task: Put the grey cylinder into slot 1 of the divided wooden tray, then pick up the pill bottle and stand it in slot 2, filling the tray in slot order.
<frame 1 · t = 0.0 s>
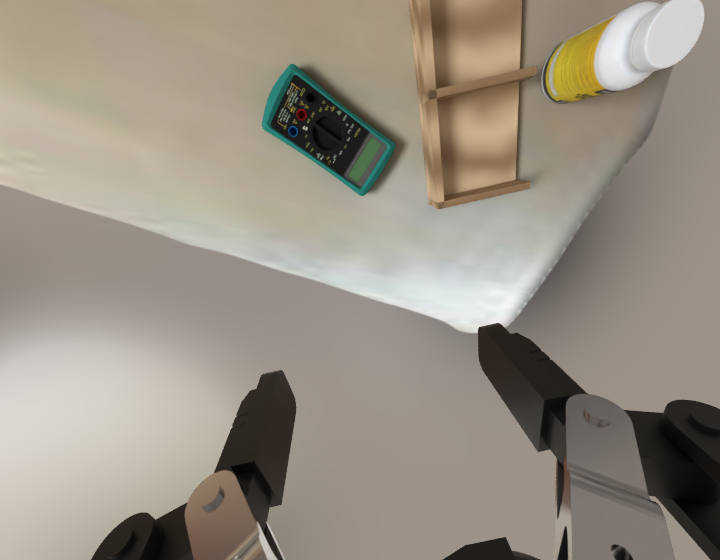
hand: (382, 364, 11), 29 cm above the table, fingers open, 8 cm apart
digital multimeter: (331, 137, 34), on the table
divided wooden tray: (466, 90, 32), on the table
pill bottle: (563, 73, 33), on the table
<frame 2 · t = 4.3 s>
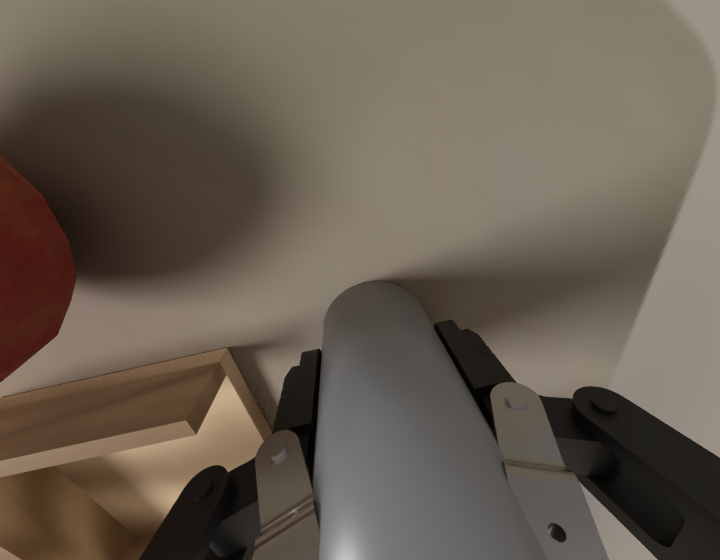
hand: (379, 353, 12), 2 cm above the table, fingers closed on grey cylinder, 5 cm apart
fruit: (29, 223, 10), on the table
grey cylinder: (374, 326, 13), on the table, touching gripper
divided wooden tray: (218, 505, 18), on the table
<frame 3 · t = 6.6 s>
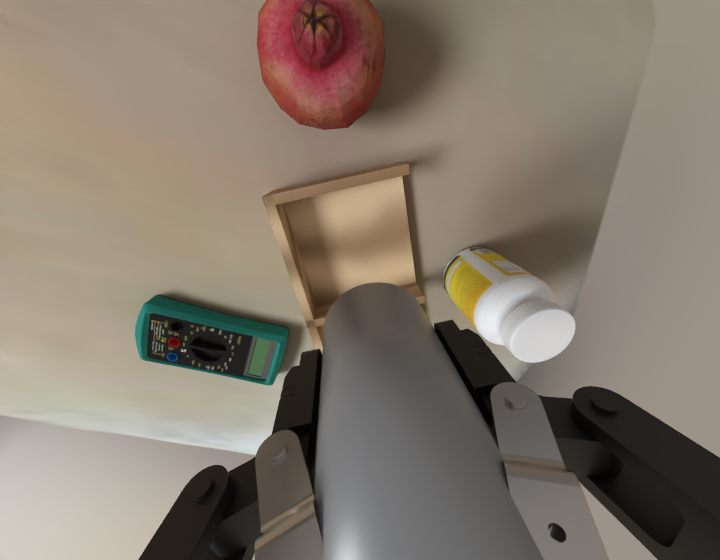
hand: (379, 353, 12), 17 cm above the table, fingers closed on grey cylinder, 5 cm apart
fruit: (325, 77, 22), on the table
digital multimeter: (222, 334, 31), on the table
grey cylinder: (375, 327, 13), point 15 cm above the table, touching gripper
divided wooden tray: (362, 293, 30), on the table
pill bottle: (469, 272, 30), on the table
when the fingers open (4 cm above the table, at t = 9.3 s): grey cylinder drops 1 cm, resting on divided wooden tray.
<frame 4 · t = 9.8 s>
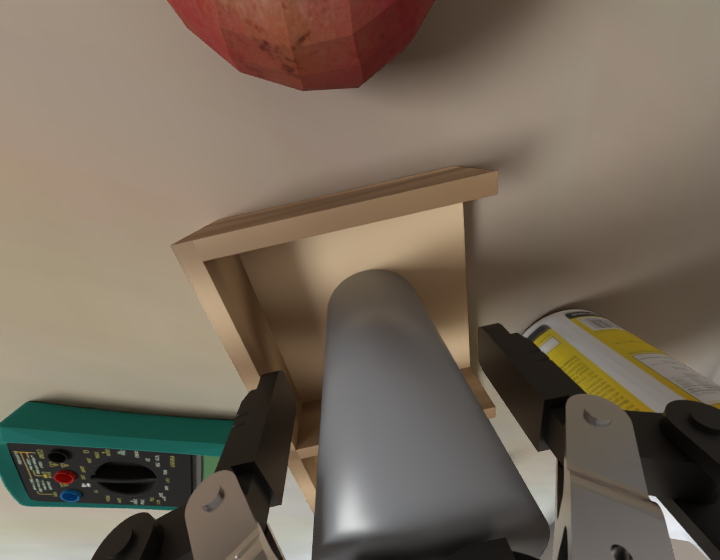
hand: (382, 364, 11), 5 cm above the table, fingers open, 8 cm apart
digital multimeter: (158, 438, 20), on the table
grey cylinder: (373, 311, 15), point 1 cm above the table, touching divided wooden tray
divided wooden tray: (378, 379, 18), on the table
pill bottle: (552, 344, 18), on the table
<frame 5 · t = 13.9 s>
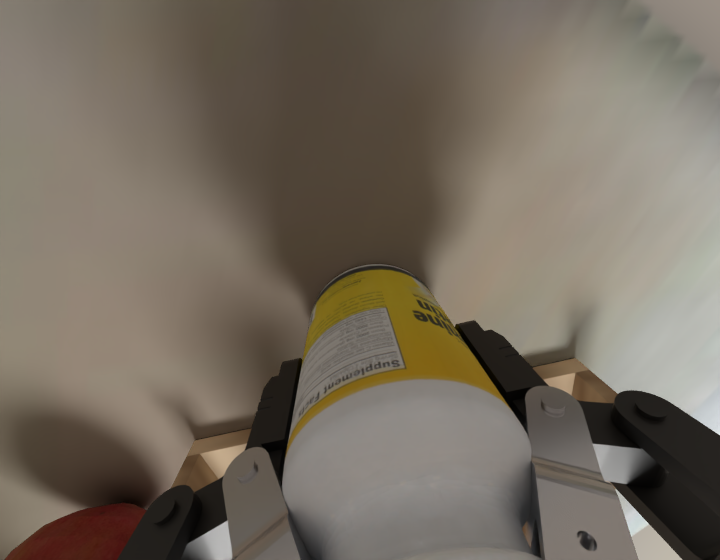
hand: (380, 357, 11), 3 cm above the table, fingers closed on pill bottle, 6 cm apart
fruit: (129, 500, 20), on the table
divided wooden tray: (396, 456, 19), on the table
pill bottle: (371, 314, 15), on the table, touching gripper
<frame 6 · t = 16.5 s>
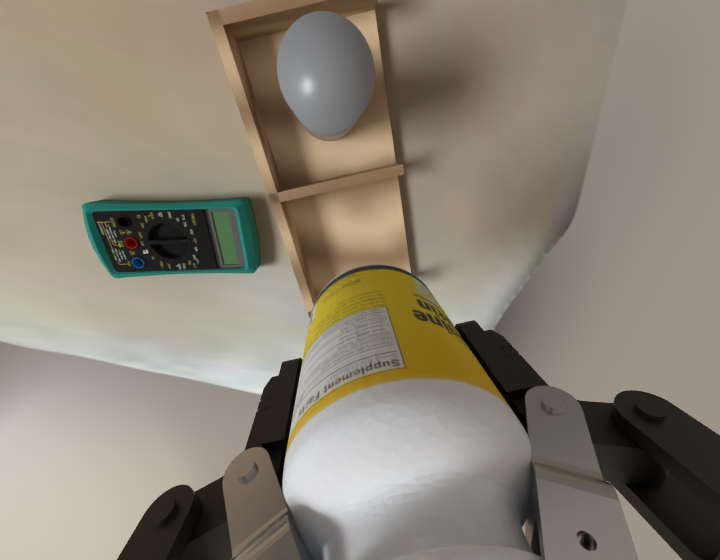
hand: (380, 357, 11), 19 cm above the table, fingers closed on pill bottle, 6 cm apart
digital multimeter: (187, 234, 28), on the table
grey cylinder: (327, 108, 23), point 1 cm above the table, touching divided wooden tray
divided wooden tray: (336, 180, 27), on the table
pill bottle: (371, 313, 15), point 16 cm above the table, touching gripper
when the fingers open (6 cm above the table, at t = 19.6 s): pill bottle drops 1 cm, resting on divided wooden tray.
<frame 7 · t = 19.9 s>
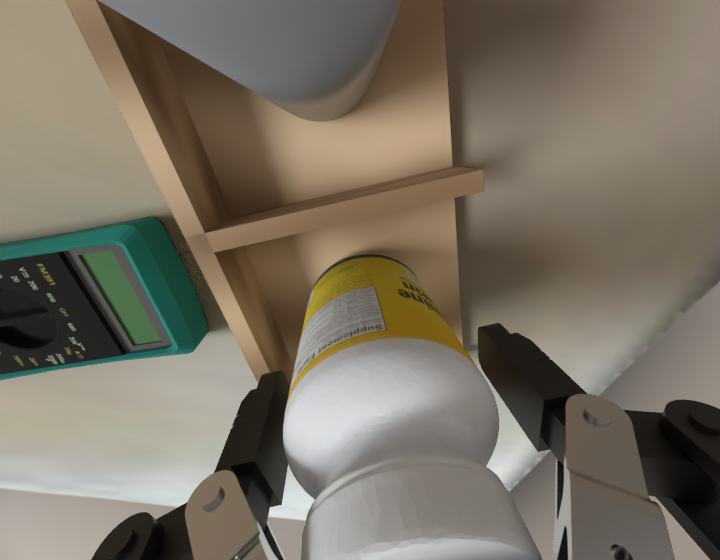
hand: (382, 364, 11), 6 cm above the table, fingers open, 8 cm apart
digital multimeter: (72, 293, 16), on the table
grey cylinder: (314, 47, 11), point 1 cm above the table, touching divided wooden tray
divided wooden tray: (335, 199, 14), on the table
pill bottle: (365, 300, 16), point 1 cm above the table, touching divided wooden tray
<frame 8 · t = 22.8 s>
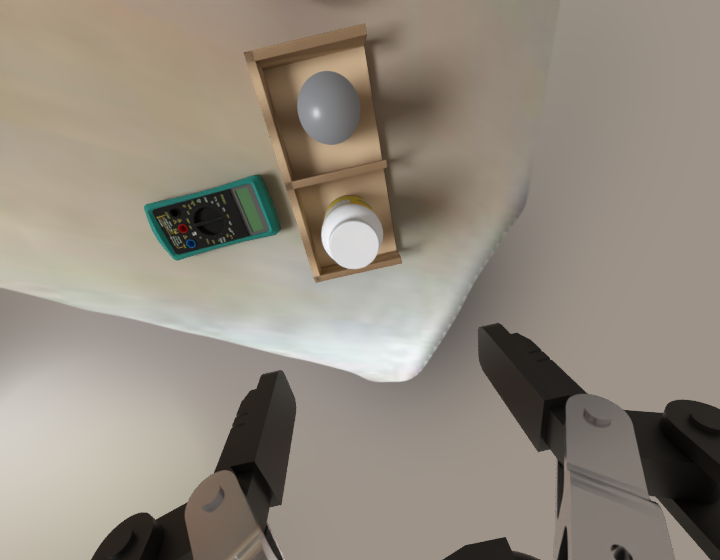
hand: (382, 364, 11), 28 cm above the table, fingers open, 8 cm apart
digital multimeter: (220, 216, 36), on the table
grey cylinder: (329, 117, 30), point 1 cm above the table, touching divided wooden tray
divided wooden tray: (336, 173, 34), on the table
pill bottle: (349, 219, 36), point 1 cm above the table, touching divided wooden tray
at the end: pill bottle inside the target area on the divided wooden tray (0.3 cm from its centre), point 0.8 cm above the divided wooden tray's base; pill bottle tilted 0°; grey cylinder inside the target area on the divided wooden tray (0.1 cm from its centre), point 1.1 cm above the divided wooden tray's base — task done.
